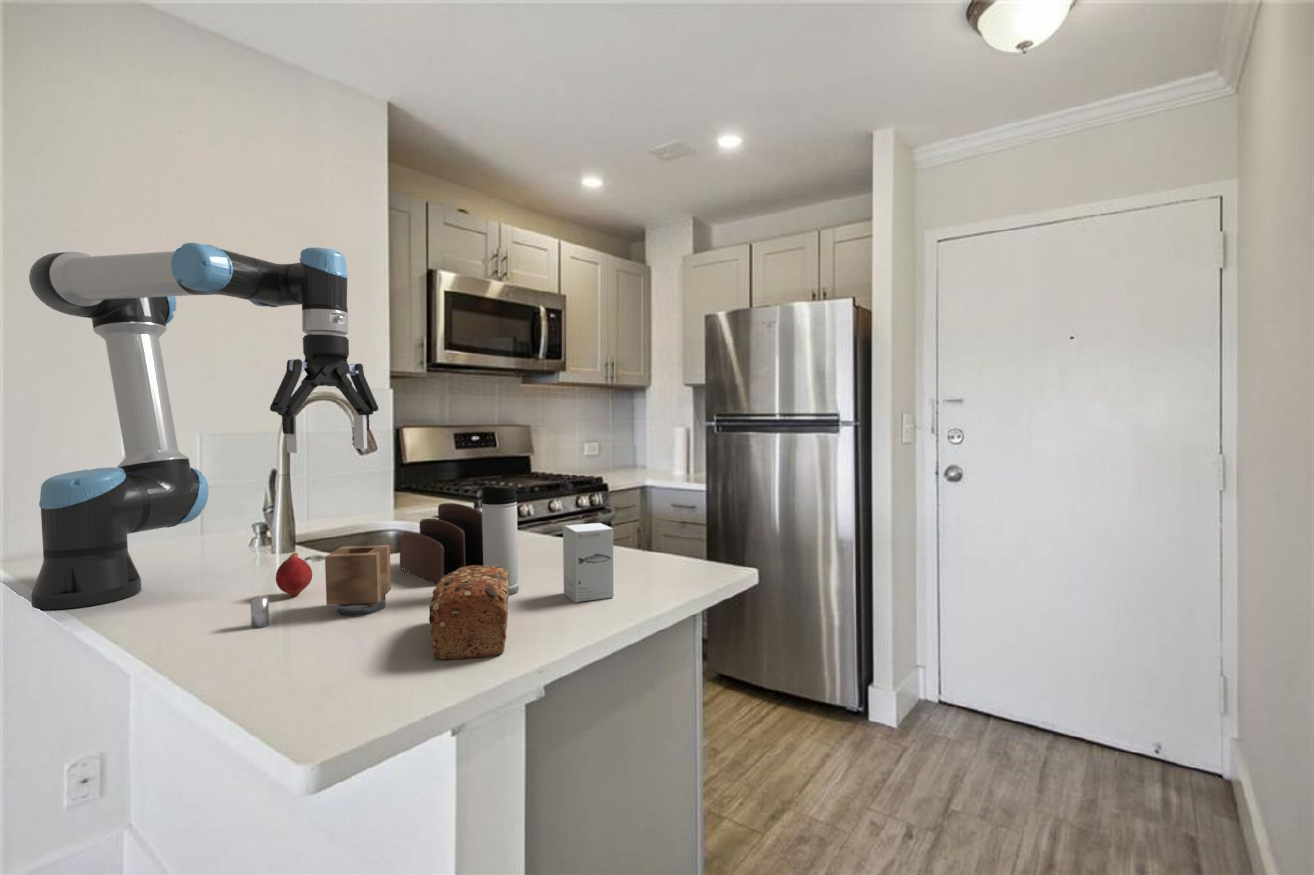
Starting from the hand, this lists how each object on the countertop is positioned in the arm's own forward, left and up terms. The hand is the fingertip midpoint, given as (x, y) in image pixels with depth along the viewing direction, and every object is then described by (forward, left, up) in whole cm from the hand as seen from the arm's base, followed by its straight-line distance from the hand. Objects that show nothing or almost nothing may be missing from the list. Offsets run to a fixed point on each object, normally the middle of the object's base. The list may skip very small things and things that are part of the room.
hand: (329, 450), depth 120 cm
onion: (-4, -5, -27) cm, 27 cm away
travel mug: (+29, +13, -27) cm, 41 cm away
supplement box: (+45, +18, -27) cm, 55 cm away
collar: (+14, -5, -25) cm, 28 cm away
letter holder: (+8, +20, -27) cm, 34 cm away
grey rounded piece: (+7, -18, -27) cm, 33 cm away
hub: (+14, -5, -27) cm, 30 cm away
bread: (+41, -7, -27) cm, 49 cm away
